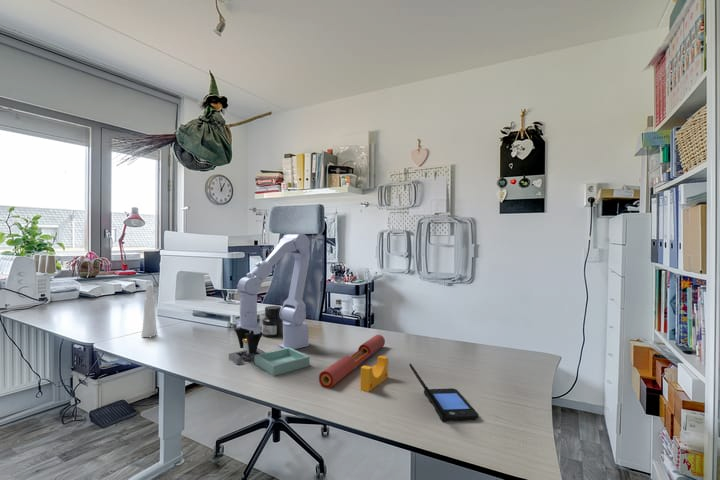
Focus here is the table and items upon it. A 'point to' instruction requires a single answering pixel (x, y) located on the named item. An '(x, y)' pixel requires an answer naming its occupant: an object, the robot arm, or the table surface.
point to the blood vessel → (350, 362)
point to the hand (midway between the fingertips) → (248, 350)
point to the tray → (281, 361)
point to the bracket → (237, 356)
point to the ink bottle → (272, 322)
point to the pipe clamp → (374, 374)
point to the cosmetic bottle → (149, 313)
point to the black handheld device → (448, 403)
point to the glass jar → (246, 351)
